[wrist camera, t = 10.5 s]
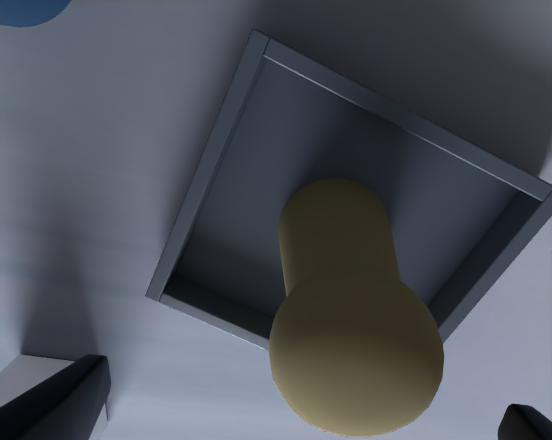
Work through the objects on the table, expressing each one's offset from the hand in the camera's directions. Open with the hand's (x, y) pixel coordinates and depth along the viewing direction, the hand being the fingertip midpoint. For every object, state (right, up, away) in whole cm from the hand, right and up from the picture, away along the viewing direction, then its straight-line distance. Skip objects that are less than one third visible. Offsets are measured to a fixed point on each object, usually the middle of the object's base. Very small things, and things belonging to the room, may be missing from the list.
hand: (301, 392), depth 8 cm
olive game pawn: (+3, +3, +12) cm, 13 cm away
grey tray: (+3, +3, +12) cm, 13 cm away
